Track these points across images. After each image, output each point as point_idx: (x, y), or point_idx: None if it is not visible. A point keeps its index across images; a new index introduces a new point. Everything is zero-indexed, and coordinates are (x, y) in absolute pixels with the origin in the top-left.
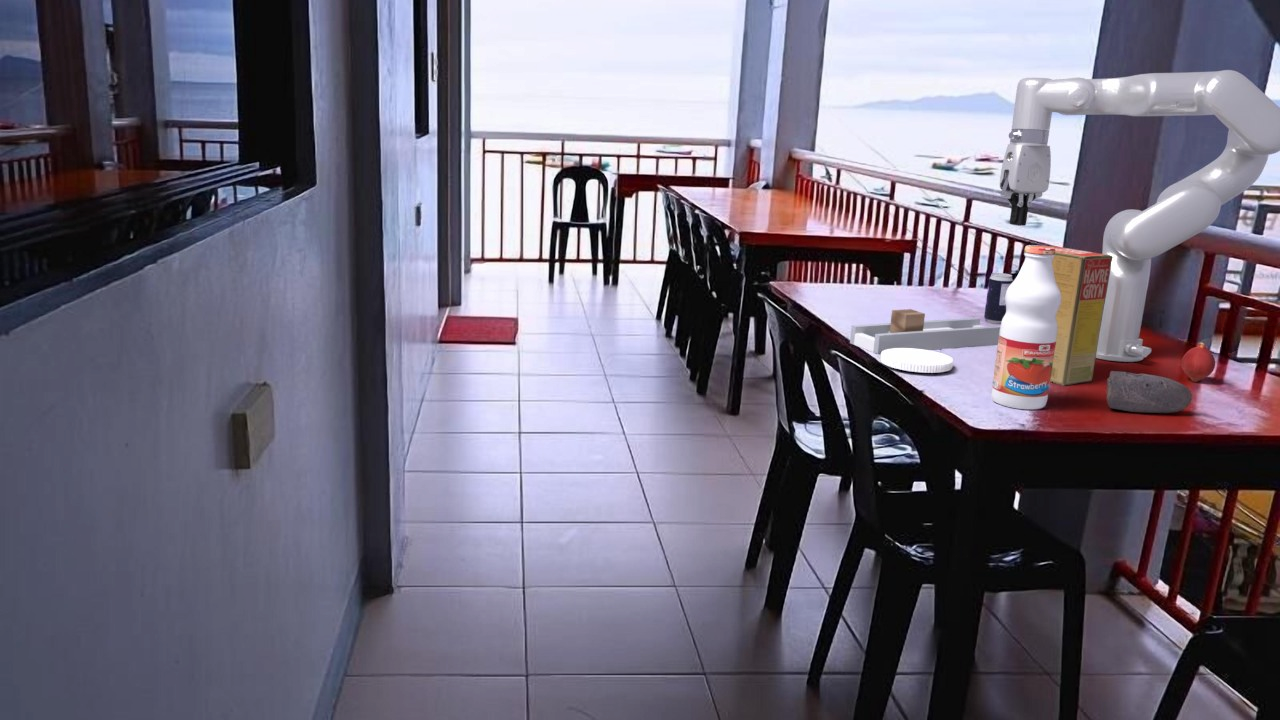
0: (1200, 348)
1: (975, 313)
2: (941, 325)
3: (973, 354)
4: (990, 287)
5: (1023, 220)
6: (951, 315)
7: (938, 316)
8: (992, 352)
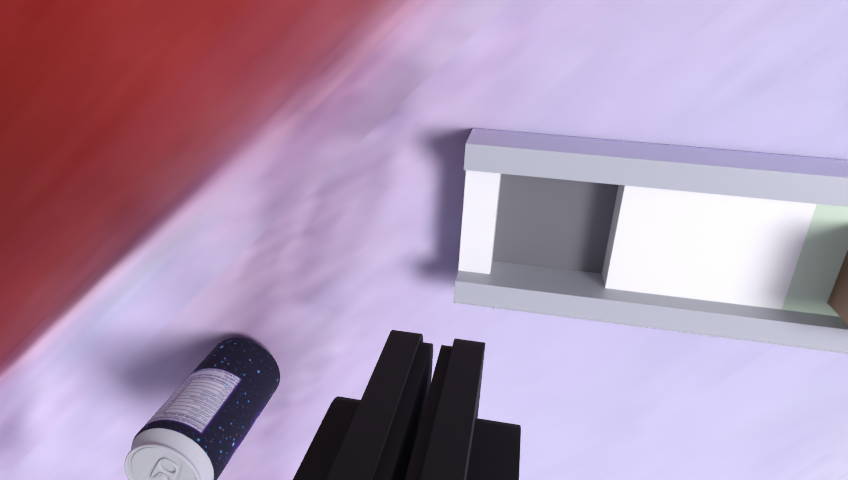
0: None
1: None
2: (644, 297)
3: (745, 43)
4: (231, 451)
5: (423, 372)
6: None
7: None
8: (636, 42)
